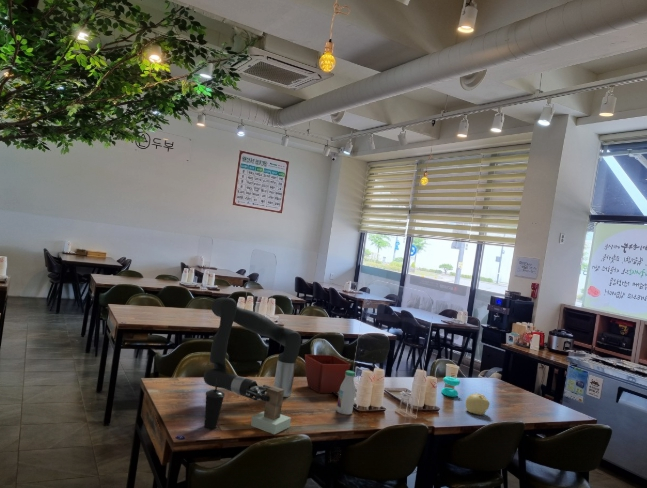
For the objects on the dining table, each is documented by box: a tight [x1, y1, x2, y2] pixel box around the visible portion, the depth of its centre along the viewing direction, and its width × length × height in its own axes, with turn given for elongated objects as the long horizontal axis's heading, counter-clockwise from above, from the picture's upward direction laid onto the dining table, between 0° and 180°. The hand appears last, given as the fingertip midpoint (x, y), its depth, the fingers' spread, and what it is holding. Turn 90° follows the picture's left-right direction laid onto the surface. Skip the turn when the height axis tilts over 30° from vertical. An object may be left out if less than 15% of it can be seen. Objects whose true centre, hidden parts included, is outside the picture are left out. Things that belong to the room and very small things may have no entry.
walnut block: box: [263, 385, 284, 420], centre depth 215 cm, size 5×5×12 cm
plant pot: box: [304, 354, 351, 394], centre depth 279 cm, size 19×19×17 cm
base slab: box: [250, 411, 292, 435], centre depth 215 cm, size 12×12×4 cm
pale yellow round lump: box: [464, 392, 490, 416], centre depth 279 cm, size 12×12×11 cm
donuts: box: [441, 376, 461, 398], centre depth 308 cm, size 10×10×10 cm
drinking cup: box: [203, 378, 226, 430], centre depth 205 cm, size 8×8×20 cm
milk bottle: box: [336, 370, 356, 416], centre depth 247 cm, size 8×8×20 cm
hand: (274, 397), depth 215 cm, fingers open, 8 cm apart
